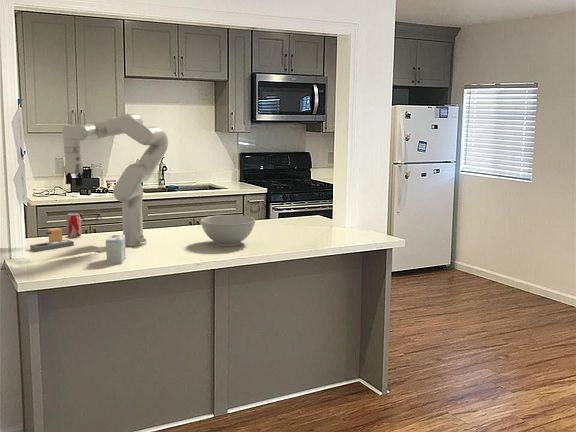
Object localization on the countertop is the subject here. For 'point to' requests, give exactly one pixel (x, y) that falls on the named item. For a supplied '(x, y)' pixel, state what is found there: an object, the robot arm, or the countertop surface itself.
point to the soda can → (73, 225)
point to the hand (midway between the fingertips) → (74, 184)
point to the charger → (54, 234)
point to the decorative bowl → (228, 228)
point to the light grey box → (115, 249)
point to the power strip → (51, 245)
